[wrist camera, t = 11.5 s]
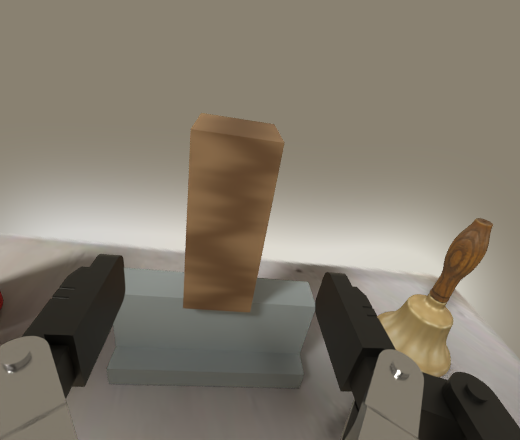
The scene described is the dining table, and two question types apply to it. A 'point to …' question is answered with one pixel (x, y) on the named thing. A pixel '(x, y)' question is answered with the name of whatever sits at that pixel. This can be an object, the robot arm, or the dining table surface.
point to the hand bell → (436, 304)
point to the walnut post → (228, 209)
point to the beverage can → (1, 300)
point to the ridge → (209, 335)
